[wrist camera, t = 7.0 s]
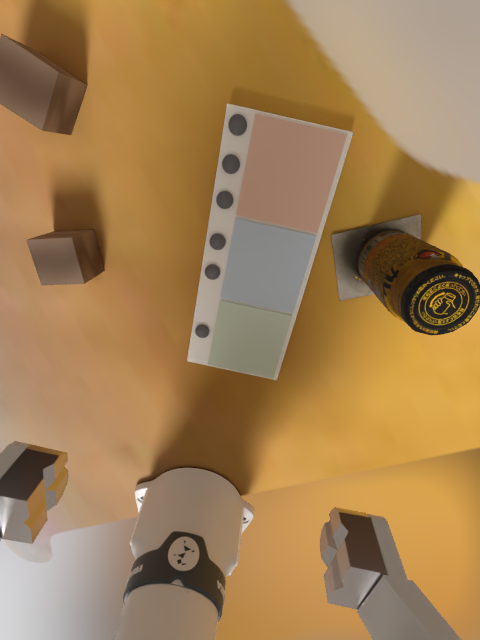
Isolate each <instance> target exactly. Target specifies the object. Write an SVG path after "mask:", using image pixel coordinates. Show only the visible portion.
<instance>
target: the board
mask: <svg viewBox="0 0 480 640" xmlns="http://www.w3.org/2000/svg"><path fill="white" fill-rule="evenodd" d="M352 136H353V132H350V131H346V130H341V129H337V128H333V127H328V126H324V125H320V124H315V123H311V122H307V121H302V120H298V119H294V118H289V117H285V116H280V115H276V114H272V113H267V112H263V111H259V110H254V109H250V108H246V107H241V106H237V105H233V104H228V103H227V108H226V114H225V121H224V127H223V134H222V140H221V146H220V153H219V159H218V166H217V172H216V178H215V185H214V191H213V198H212V204H211V211H210V217H209V223H208V230H207V236H206V243H205V249H204V255H203V262H202V268H201V275H200V281H199V287H198V294H197V300H196V307H195V313H194V320H193V326H192V332H191V339H190V345H189V352H188V358H187V361H188V362H193V363H198V364H202V365H207V366H212V367H216V368H221V369H226V370H231V371H235V372H240V373H245V374H249V375H254V376H259V377H263V378H268V379H273V380H277V378H278V375H279V371H280V368H281V365H282V362H283V359H284V355H285V352H286V349H287V346H288V342H289V339H290V336H291V333H292V329H293V326H294V323H295V320H296V317H297V313H298V310H299V307H300V304H301V300H302V297H303V294H304V291H305V287H306V284H307V281H308V278H309V275H310V271H311V268H312V265H313V262H314V258H315V255H316V252H317V249H318V245H319V242H320V239H321V236H322V232H323V229H324V226H325V223H326V220H327V216H328V213H329V210H330V207H331V203H332V200H333V197H334V194H335V190H336V187H337V184H338V181H339V178H340V174H341V171H342V168H343V165H344V161H345V158H346V155H347V152H348V148H349V145H350V142H351V139H352Z"/></svg>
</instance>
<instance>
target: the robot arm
mask: <svg viewBox="0 0 480 640" xmlns="http://www.w3.org/2000/svg"><path fill="white" fill-rule="evenodd" d="M67 461H68V456H67V453H66V452H62V451H57V450H53V449H48V448H44V447H40V446H35V445H31V444H27V443H22V442H17V441H14V442H13V443H11V444H9V445H8V446H7V447H6V448H5V449H4V450H3V451H2V452H1V453H0V538H1V539H7V540H13V541H19V542H25V543H31V544H32V543H33V542H34V540H35V539H36V537H37V536H38V534H39V532H40V531H41V529H42V528H43V526H44V524H45V523H46V521H47V510H49V509H51V508H52V507H54V506H55V505H57V503H58V502H59V500H60V498H61V497H62V495H63V493H64V490H65V488H66V485H67V482H68V470H67V469H66V468H65V464H66V463H67ZM135 498H136V503H137V508H138V513H139V514H138V517H137V520H136V523H135V526H134V529H133V532H132V535H131V539H130V545H131V546H132V552H133V554H134V556H135V559H136V561H135V562H134V564H133V567H132V570H131V573H130V575H129V577H128V580H127V583H126V589H125V593H124V596H123V600H124V607H123V610H122V613H121V616H120V619H119V622H118V626H117V629H116V632H115V635H114V638H113V640H216V629H217V622H218V621H219V619H220V617H221V615H222V608H223V605H224V599H225V577H226V576H227V575H228V576H229V575H231V573H232V571H233V569H234V568H235V567H236V566H237V564H238V561H239V552H240V543H241V534H242V533H243V531H244V530H245V528H246V527H247V526H248V524H249V523H250V522H251V520H252V519H253V517H254V508H253V507H252V506H251V505H250V504H249V503H247V502H246V501H244V500H243V499H242V498H241V496H240V495H239V493H238V491H237V490H236V488H235V487H234V486H233V485H232V484H231V483H230V482H229V481H228V480H226V479H225V478H223V477H222V476H220V475H218V474H216V473H213V472H210V471H207V470H203V469H198V468H178V469H173V470H170V471H167V472H165V473H163V474H161V475H160V476H158V477H157V478H156V479H154V480H152V481H148V482H144V483H140V484H138V485H137V486H136V489H135ZM329 515H330V521H329V522H327V523H325V524H324V526H323V528H322V531H321V537H320V551H321V558H322V560H323V561H324V563H325V564H326V566H327V567H328V568H327V570H326V572H325V574H324V580H325V587H326V594H327V600H328V603H331V604H335V605H340V606H344V607H348V608H352V609H357V610H358V611H357V612H358V614H359V616H360V618H361V619H362V621H363V623H364V625H365V626H366V628H367V630H368V632H369V634H370V635H371V637H372V639H373V640H461V639H460V637H459V636H458V635H457V634H456V633H455V631H454V630H453V629H452V628H451V627H450V625H449V624H448V623H447V622H446V620H445V619H444V618H443V617H442V616H441V614H440V613H439V612H438V611H437V610H436V608H435V607H434V606H433V605H432V603H431V602H430V601H429V600H428V599H427V597H426V596H425V595H424V594H423V593H422V591H421V590H420V589H419V588H418V587H417V585H416V584H415V583H414V582H413V581H412V580H408V579H407V576H406V574H405V571H404V568H403V565H402V562H401V559H400V557H399V553H398V550H397V548H396V545H395V542H394V539H393V536H392V533H391V531H390V528H389V525H388V522H387V521H386V519H385V518H384V517H381V516H375V515H370V514H366V513H363V512H357V511H352V510H347V509H341V508H336V507H335V508H333V509H332V510H331V512H330V514H329Z"/></svg>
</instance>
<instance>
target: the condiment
mask: <svg viewBox="0 0 480 640" xmlns="http://www.w3.org/2000/svg"><path fill="white" fill-rule="evenodd" d="M331 236H332V245H333V253H334V261H335V269H336V277H337V284H338V291H339V299H340V301H341V300H347V299H352V298H358V297H362V296H368V295H372V294H375V295H376V296H377V297H378V298H379V300H380V301H381V303H383V305H384V306H385V307H386V308H387V309H388V311H389V312H391V313H392V314H393V315H394V316H395V317H397V318H398V319H400V320H402V321H404V322H406V323H407V324H408V326H410V327H411V328H412V329H413V330H414V331H416V332H420V333H424V334H428V335H440V334H445V333H450V332H453V331H455V330H457V329H458V328H460V327H462V326H464V325H465V324H467V323H468V322H469V321H470V320H471V319H472V317H473V316H474V315H475V313H476V312H477V310H478V308H479V306H480V284H479V282H478V279H477V278H476V277H475V276H474V275H473V273H472V272H470V271H469V270H468V269H466V268H464V267H463V266H462V265H461V263H460V262H459V261H458V260H457V259H456V258H455V257H454V256H452V255H451V254H449V253H447V252H446V251H443V250H440V249H439V248H437V247H435V246H432V245H430V244H428V243H426V242H424V241H422V240H421V214H419V215H415V216H410V217H406V218H401V219H397V220H392V221H388V222H384V223H380V224H376V225H371V226H368V227H363V228H359V229H354V230H350V231H346V232H342V233H337V234H333V235H331ZM363 239H365V240H364V241H363ZM355 276H356V277H358V278H360V279H361V281H360V280H358V279H356V278H355Z"/></svg>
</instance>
